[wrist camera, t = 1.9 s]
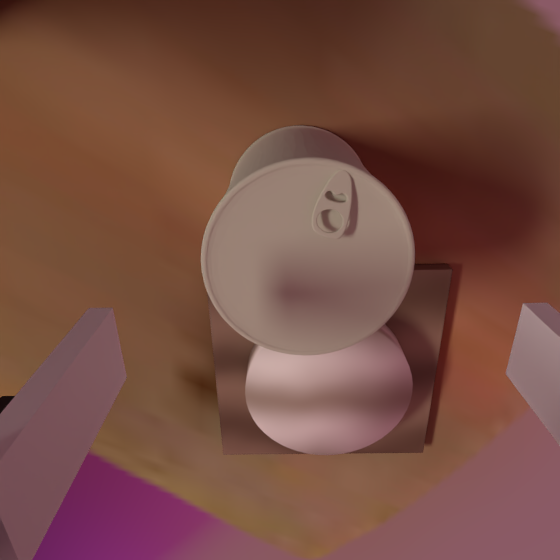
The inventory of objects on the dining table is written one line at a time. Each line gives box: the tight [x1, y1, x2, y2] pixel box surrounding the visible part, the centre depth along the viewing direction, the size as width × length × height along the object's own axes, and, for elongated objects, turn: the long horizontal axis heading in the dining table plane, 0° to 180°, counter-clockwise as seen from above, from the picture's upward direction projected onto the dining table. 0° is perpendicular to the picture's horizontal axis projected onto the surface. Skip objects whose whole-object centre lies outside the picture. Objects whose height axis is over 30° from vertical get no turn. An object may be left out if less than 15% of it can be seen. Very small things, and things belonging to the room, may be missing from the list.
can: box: [201, 125, 415, 355], centre depth 24 cm, size 9×9×12 cm
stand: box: [207, 264, 452, 455], centre depth 33 cm, size 17×17×4 cm
